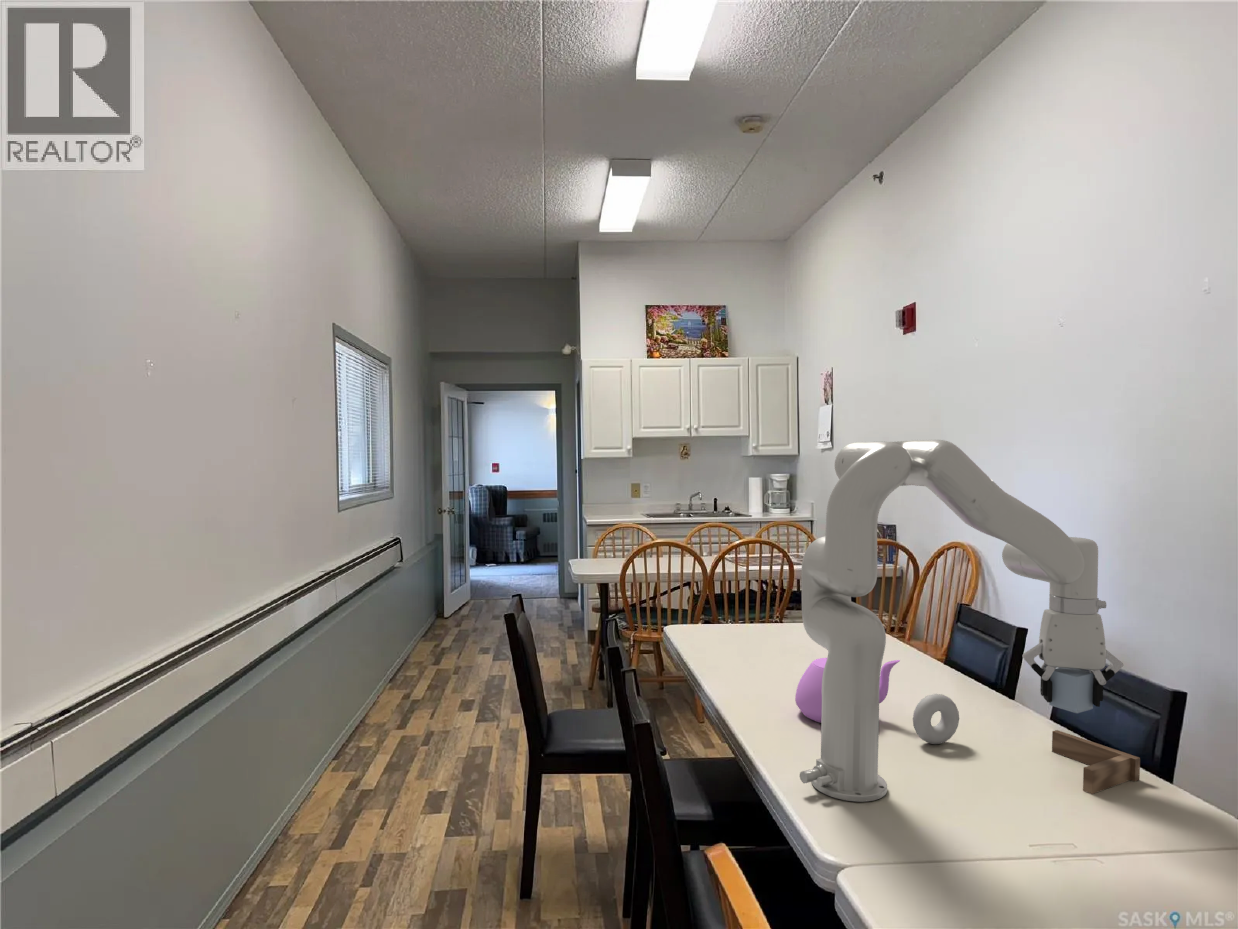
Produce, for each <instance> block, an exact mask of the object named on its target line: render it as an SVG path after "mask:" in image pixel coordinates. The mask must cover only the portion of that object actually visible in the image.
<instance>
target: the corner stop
mask: <svg viewBox="0 0 1238 929" xmlns="http://www.w3.org/2000/svg"><path fill="white" fill-rule="evenodd" d="M1051 736H1052V737H1051V738H1052V740H1051V742H1052V743H1051V752H1052V753H1054V754H1057V755H1059V756H1063V757H1066V758H1069V759H1071V760H1074V761H1077V762H1079V763H1082V764H1085V765H1087V766H1085V767H1083V777H1082V791H1083V792H1086V793H1088V794H1089V795H1090V794H1091V795H1093V794H1097V793H1099V792H1102V791H1104V790H1107V789H1110V788H1113V787H1115V786H1117V785H1121V784H1123V783H1127V782H1129V781H1132V782H1137V781H1140V777H1141V776H1140V773H1141V772H1140V771H1141V757H1139V756H1136V755H1132V754H1131V753H1127V752H1124V751H1121V750H1118V749H1115V748H1112V747H1108V746H1105V745H1103V744H1100V743H1097V742H1094V741H1091V740H1089V739H1085V738H1083V737H1079V736H1075V735H1074V734H1071V733H1066V732H1064V731H1062V730H1058V729H1055V730H1052V734H1051Z"/></svg>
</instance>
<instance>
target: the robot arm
mask: <svg viewBox="0 0 1238 929" xmlns="http://www.w3.org/2000/svg"><path fill="white" fill-rule="evenodd" d="M834 471H835V473H836V476H837V477H838V479H839V480H837V482H836V484H835V485H834V487H833V489H832V490H831V492H830V493H831V494H830V495H829V498H828V502H827V506H826V513H825V514H826V515H825V533H824V534H825V535H824V536H821V537H818V538H816V539H815V540H813V541H812V542H811V543H810V544H809V545H808V546H807V548H806V549H805V552H804V554H803V558H802V562H801V616H802V617H801V618H802V624H803V628H804V631H805V632H806V634H807V635H808V636H809V638H810V639H811V640H812V642H814V643H816V644H817V645H819V646H821V647H822V648H824V649H826V650H827V651H828V652H827V657H826V658H827V661H826V664H825V667H824V671H823V677H822V719H821V724H820V726H821V729H820V735H821V736H820V758H817V759H816V761H815V765H814V766H813V767H812V769H806V770H802V771H800V772H799V780H800V781H801V782H802V784H808V783H811V784H812V786H813V787H814V788H815V789H816V790H817V791H819V792H820V793H822V794H824V795H826V796H828V797H831V798H834V799H837V800H838V799H839V800H842V801H849V802H854V803H855V802H856V803H857V802H861V803H864V802H873V801H877V800H880V799H881V798H883V797H885V795H887V792H888V784H887V781H886V780H885V779H884V777H882V776H881V775H880V774H878V773H879V770H878V769H879V736H880V735H879V732H880V730H879V727H880V726H879V723H880V704H879V685H880V674H881V668H882V666H883V659H884V655H885V649H886V644H887V639H886V638H887V636H886V629H885V627H884V624H883V623H882V620H881V619H880V617H878V616H877V614H875V612H873V611H872V610H870V609H869V608H868V607H865V606H863V605H861V604H858V603H856V602H854V601H852V598H859V597H864V596H866V595H867V594H869V593H870V592H872V591H873V589H874V587H875V586H876V584H877V579H878V523H879V522H878V519H879V514H880V511H881V508H882V506H883V504H884V502H885V501H886V499H888V496H890V495H891V494H892V493H893V492H894V491H895V490H897V489H898V488H899V487H904V486H906V487H907V486H916V487H917V486H918V487H925V488H927V489H929V490H930V491H931V492H932V493H933V494H934V495H935V496H936V497H937V498H938V499H939V500H940V501H942V502H943V504H945V505H946V507H948V508H949V509H950V510H951V511H952V512H953V513H954V514H955V515H956V516H957V517H958V518H959V519H960V520H961V521H962V522H964V524H966V525H967V526H969V527H970V528H973V529H975V530H976V531H979V532H980V533H983V534H986V535H988V536H990V537H993V538H995V539H998V540H1000V541H1002V542H1004V543H1006V544H1005V545H1004V546H1003V549H1002V552H1001V553H1002V554H1001V556H1002V557H1001V558H1002V559H1001V560H1002V562H1003V564H1004V565H1005V567H1006V568H1007V569H1008V570H1009V571H1011V572H1012V573H1014V574H1016V575H1017V576H1021V577H1024V578H1028V579H1032V580H1038V581H1041V582H1045V583H1049V598H1048V599H1049V600H1048V601H1049V602H1048V603H1049V604H1048V606H1049V607H1048V609H1047V608H1046V609H1044V610H1043V613H1042V618H1041V622H1040V628H1039V637H1038V643H1037V644H1036V645H1035V646H1033V647H1031V648H1030V649H1029V650H1027V651H1025V652H1024V653H1023V654H1022V658H1023V659H1024V661H1025V662H1026V663H1027V665H1029V667H1030V668H1031V669H1032V670H1033V671H1034V672H1035V673H1036V674H1037V675H1038V676H1039V677H1040V689H1039V690H1040V692H1039V693H1040V696H1041V697H1043V699H1044V700H1045V702H1047V703H1049V702H1050V703H1051V702H1052V681H1051V680H1050V676H1051V675H1052V673H1053V672H1054V670H1055V669H1057V668H1068V669H1078V670H1082V671H1089V672H1090V673H1093V706H1095V707H1098V708H1100V707H1101V702H1103V701H1104V686H1105V685H1106V684H1107V682H1108V681H1109V680H1110V679H1111V678H1113V677H1114V676H1115V674H1116V673H1118V672H1119V671H1120V669H1122V668H1123V667H1124V663H1123V661H1121V660H1120V659H1118V658H1117V657H1116V656H1115V655H1114V654H1112V653H1111V652H1110V651H1109V650H1107V647H1106V646H1107V645H1106V638H1105V630H1104V624H1103V619H1102V618H1103V617H1102V615H1101V614H1100V613H1099V611H1100V610H1102V609H1106V608H1107V602H1106V600H1101V599H1099V597H1098V591H1099V588H1098V585H1099V584H1098V582H1099V581H1098V580H1099V579H1098V577H1099V546H1098V544H1097V542H1096V541H1094V540H1093V539H1089V538H1086V537H1085V538H1084V537H1076V536H1075V537H1074V536H1073V537H1072V536H1069V535H1068V534H1067V533H1066V532H1065V531H1064V530H1062V528H1061V527H1059V526H1058V525H1057V524H1056V523H1055V522H1054V521H1052V520H1050V519H1049V518H1048V517H1046V516H1045V515H1044V514H1042V513H1040V512H1039V511H1037V510H1035V509H1033V508H1032V507H1030V506H1029V505H1027V504H1025V503H1024V502H1022V501H1021V500H1019V499H1018V498H1016V497H1014V496H1012V495H1011V494H1009V493H1007V492H1006V491H1005V490H1003V489H1002V488H1001V486H999V485H998V484H997V483H996V482H995V481H994V480H993V479H992V478H990V477H989V475H987V473H986V472H984V471H983V470H982V469H981V468H980V467H979V466H978V465H977V464H976V462H974V460H972V458H970V457H969V456H968V455H967V454H966V453H965V452H964V451H963V450H962V449H961V448H960V447H959V446H957V445H956V444H955V443H953V442H951V441H947V440H945V439H914V440H913V439H911V440H903V441H902V440H901V441H858V442H857V441H856V442H851V443H848V444H847V445H845V446H844V447H842V448H841V449H840V450H839V452H838V453H837V455H836V457H835V460H834ZM1036 657H1038V658H1039V659H1040V660H1041V661H1043V664H1042V665H1041V666H1040V665H1039V664H1038V663H1037V662H1036V661H1035V658H1036ZM1107 661H1108V662H1109V665H1108V666H1107V667H1106V665H1107V663H1106V662H1107Z"/></svg>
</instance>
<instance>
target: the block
mask: <svg viewBox="0 0 1238 929" xmlns="http://www.w3.org/2000/svg"><path fill="white" fill-rule="evenodd" d="M1050 680H1051V681H1052V702H1051V703H1050V702H1048V703H1049V704H1048V705H1049V706H1051V707H1055V708H1058V709H1061V710H1064V711H1067V712H1071V713H1074V714H1080V713H1083V712H1087V711H1091V710H1093V709H1094V704H1093V673H1091V672H1090V671H1087V670H1081V669H1068V668H1056V669H1055V670H1054V672H1053V673H1052V675H1051V676H1050Z"/></svg>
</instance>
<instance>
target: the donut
mask: <svg viewBox="0 0 1238 929" xmlns="http://www.w3.org/2000/svg"><path fill="white" fill-rule="evenodd" d="M958 709H959V708H958V706H957V705H956V703H955V702H954V701H953V699H951V698H950V697H949V696H947V695H945V694H943V693H932V694H928V695H925V697H923V698H922V699H920V700H919V702H918V703H917V704H916V706H915V708H914V711H913V715H912V724H913V725H912V726H913V729H914V731H915V733H916V735H917V736H918V737H919V738H920V739H921V740H922V741H923V742H926V743H927V744H932V745H939V744H942V743H945V742H948V741H949V740H950V739H951V738H952V737H953V735H955V733H956V732H957V729H958V727H959V722H960V713H959V710H958ZM937 712H939V713H940V720H939V722H938V723H937V724H935V725H934V726H933V725H932V718H933V716H934V715H935V714H936V713H937Z"/></svg>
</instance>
